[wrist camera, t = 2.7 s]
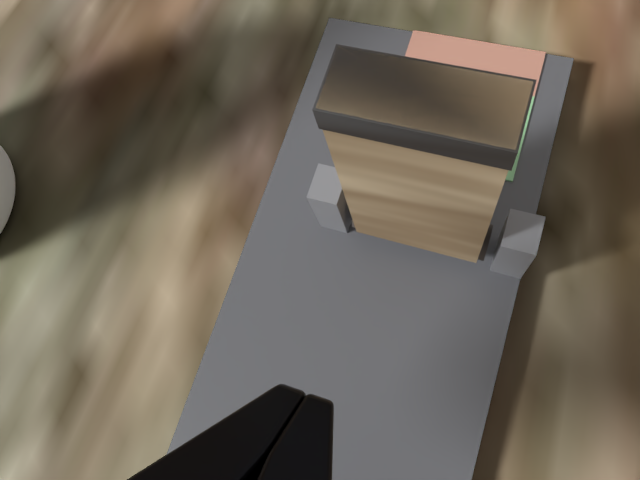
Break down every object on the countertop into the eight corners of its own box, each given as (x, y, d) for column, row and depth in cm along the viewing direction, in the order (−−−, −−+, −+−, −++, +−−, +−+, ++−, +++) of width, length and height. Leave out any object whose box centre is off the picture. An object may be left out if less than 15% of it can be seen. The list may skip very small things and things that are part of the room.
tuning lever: (480, 270, 19) (525, 154, 11) (352, 237, 20) (305, 108, 12) (491, 226, 19) (545, 81, 11) (366, 195, 20) (329, 42, 12)
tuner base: (427, 646, 17) (429, 704, 13) (151, 525, 19) (91, 548, 16) (567, 74, 22) (595, 5, 18) (332, 33, 24) (317, -35, 21)
